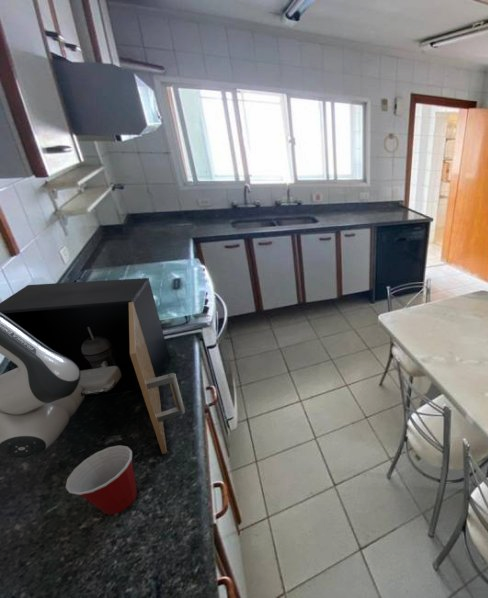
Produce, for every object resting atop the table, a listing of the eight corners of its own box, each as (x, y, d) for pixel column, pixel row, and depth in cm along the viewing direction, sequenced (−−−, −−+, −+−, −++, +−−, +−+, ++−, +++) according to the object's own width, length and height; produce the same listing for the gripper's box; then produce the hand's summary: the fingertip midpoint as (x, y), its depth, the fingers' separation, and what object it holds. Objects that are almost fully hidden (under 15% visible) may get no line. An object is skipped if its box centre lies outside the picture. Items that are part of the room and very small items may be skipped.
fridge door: (180, 383, 109) (158, 297, 96) (193, 444, 88) (167, 345, 75) (155, 390, 105) (128, 302, 92) (163, 456, 84) (129, 354, 71)
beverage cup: (118, 368, 112) (96, 317, 103) (128, 375, 109) (106, 324, 100) (92, 380, 106) (65, 327, 97) (102, 388, 103) (75, 334, 94)
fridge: (157, 388, 106) (131, 300, 93) (35, 408, 95) (-14, 311, 82) (169, 357, 121) (148, 277, 108) (65, 371, 110) (27, 284, 97)
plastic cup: (97, 489, 75) (76, 454, 70) (154, 473, 79) (137, 438, 74) (79, 537, 66) (53, 501, 61) (143, 516, 70) (124, 480, 65)
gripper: (107, 380, 84) (125, 351, 96) (-3, 396, 77) (31, 363, 88) (114, 399, 87) (130, 368, 98) (9, 417, 79) (40, 381, 91)
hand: (83, 366), depth 93 cm, fingers open, 8 cm apart
